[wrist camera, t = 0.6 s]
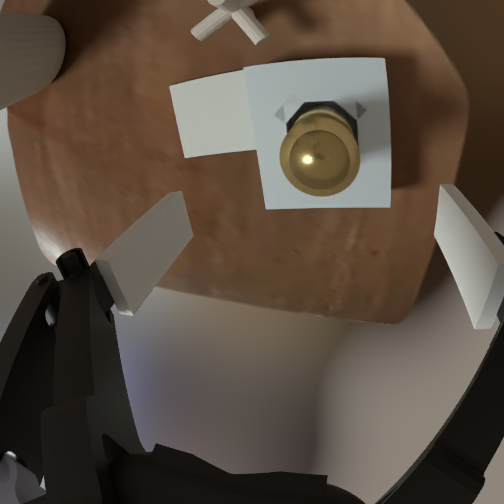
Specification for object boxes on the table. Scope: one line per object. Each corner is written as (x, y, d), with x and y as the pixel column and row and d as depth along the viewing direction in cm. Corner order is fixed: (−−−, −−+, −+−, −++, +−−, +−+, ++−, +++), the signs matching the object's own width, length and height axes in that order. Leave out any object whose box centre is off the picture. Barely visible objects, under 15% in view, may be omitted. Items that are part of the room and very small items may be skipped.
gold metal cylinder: (294, 105, 31) (272, 123, 20) (347, 102, 29) (358, 119, 18) (300, 155, 34) (283, 200, 23) (351, 153, 32) (362, 199, 21)
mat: (170, 85, 33) (169, 86, 33) (246, 69, 31) (245, 69, 30) (186, 157, 39) (184, 158, 38) (259, 148, 36) (258, 149, 35)
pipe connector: (308, 23, 26) (300, 3, 18) (237, 68, 31) (205, 68, 23) (255, -34, 23) (229, -65, 14) (190, 12, 27) (146, 0, 19)
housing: (254, 68, 30) (243, 67, 26) (377, 60, 26) (384, 58, 22) (273, 192, 39) (265, 209, 35) (383, 190, 35) (390, 207, 31)
